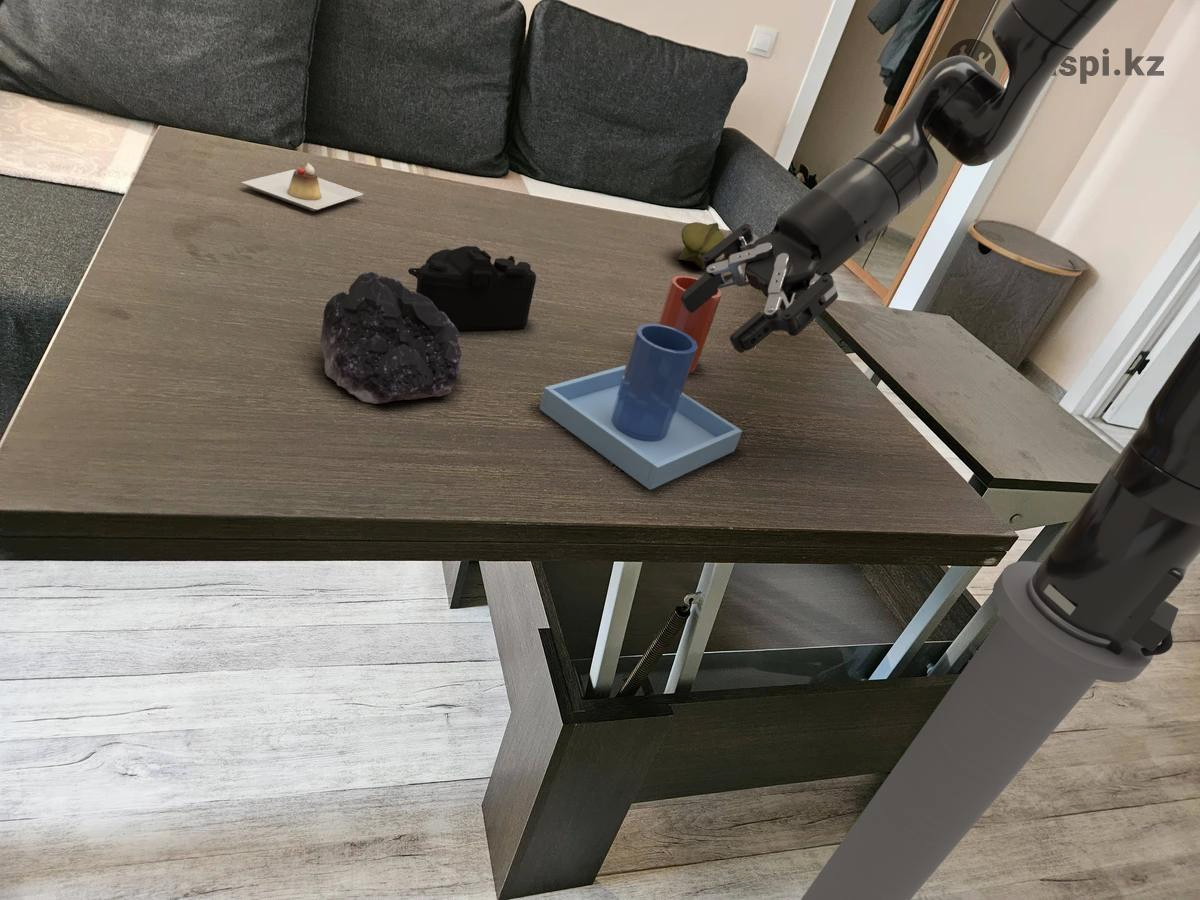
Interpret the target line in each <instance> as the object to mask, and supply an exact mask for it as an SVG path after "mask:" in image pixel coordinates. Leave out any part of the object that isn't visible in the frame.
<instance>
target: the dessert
mask: <svg viewBox="0 0 1200 900" xmlns="http://www.w3.org/2000/svg"><path fill="white" fill-rule="evenodd" d="M241 184H242V185H244V186H246V187H248V188H250V189H251V190H253V191H256V192H258V193H260V194H263V195H266V196H269V197H272V198H274V199H276V200H280V201H282V202H286V203H288V204H291V205H293V206H296V207H298V208H301V209H304V210H307V211H310V212H317V211H319V210H322V209H326V208H329V207H332V206H335V205H338V204H341V203H344V202H347V201H351V200H353V199H355V198H358V197H361V196H363V195H364V194H365V193H363V192H360V191H358V190H355V189H351V188H348V187H346V186H343V185H340V184H338V183H334V182H332V181H329V180H326V179H323V178H321V177H318V175H317V173H316V170H315V167H313V165H311V164H310V163H309V162H307V164H306V166H305V168H303V166H301V167H297V169H290V170H285V171H281V172H277V173H273V174H269V175H265V176H260V177H256V178H252V179H247V180H244V181H241Z"/></svg>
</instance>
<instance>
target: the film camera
mask: <svg viewBox="0 0 1200 900" xmlns="http://www.w3.org/2000/svg"><path fill="white" fill-rule="evenodd" d="M491 260H492V256H491V255H490V254H489V253H488V252H487V251H486V250H481V248H479V247H478V246H477V245H464V246H460V247H458V248H454V249H448V248H447V249H441V250H439V251H436V252H434V253H431V255H430V256H429V257H428V258H427V259H426V260H425V263H424V264H422V265H421V266H420V267H417V268H416V267H411V268H408V270H407V272H408V274H409V275H411V276H412V277H415V278H416V290H415V292H417V293H419V294H422V295H424V296H425V297H428V298H429V299H430V300H431V301H432V302H433V303H434V305H435V306H436V307H437V309H438V310H439V311H442V312H444V313H445V314H446V315H447V317H448V318H449V320H450V322H452V323H453V324H454V325H455V326H456V328H457V330H458V332H467V331H468V332H469V331H472V332H473V331H501V330H502V331H503V330H516V329H517V330H518V329H524V328H525V327H526V326H527V324H528V321H529V315H530V308H531V304H532V300H533V296H534V290H535V286H536V284H537V283H536V282H537V274H536V272H535V271H533V270H532V268H531V264H530V263H528V262H525V261H519V262H518V263H517V264H515V263H516V259H515V256H513V255H509V257H507V258H503V257H497V258H495V259H494V262H493V263H492V261H491Z"/></svg>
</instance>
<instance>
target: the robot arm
mask: <svg viewBox="0 0 1200 900" xmlns="http://www.w3.org/2000/svg"><path fill="white" fill-rule="evenodd" d="M1118 1H1119V0H1010V1H1009V2H1008V3H1007V5H1005V7H1004V8H1003V10H1002V11H1001V12H1000V13H999V15H998V16H997V18H996V19H995V20H994V22H993V25H992V28H991V36H992V39H993V42H994V44H995V46H996V48H997V49H998V51H999V52H1000V54H1001V56H1002V58H1003V60H1004V61H1005V63H1006V65H1007V68H1008V79H1007V82H1006V86H1003V84H1001V83H1000V82H999V80H997V79H996V78H995V77H994V76H993V75H992V74H991V73H989V72H988V71H987V70H986V68H984V67H983V66H982V65H981V64H980V63H978V62H977V60H975V59H974V58H972V57H970V56H967V55H960V54H959V55H953V56H950V57H947V58H945V59H942V60H941V61H939V62H938V63H937V64H935V65H934V66H933V67H932V68H931V69H930V70H929V71H928V72H927V73H926V75H925V76H924V77H923V79H922V80H921V81H920V82H919V85H918V86H917V87H916V89H915V91H914V92H913V94H912V95H911V96H910V98H909V100H908V101H907V103H906V104H905V105H904V107H903V108H902V109H901V111H900V112H899V113H898V115H897V116H895V118H894V120H893V121H892V122H891V123H890V124H889V125H888V127H887V128H885V130H884V131H883V132H882V133H881V134H880V135H879V136H878V137H877V138H876V139H874V140H873V141H872V142H871V143H870V144H868V145H866V147H865V148H863V150H861V151H859V153H858V154H856V155H855V156H854V157H853V158H852V159H850V160H849V161H848V162H846V163H845V164H844V165H842V166H840V167H839V168H837V169H835V170H834V171H833V172H831V173H830V174H828V175H827V176H826V177H825V178H823V180H821V181H820V182H819V183H817V184H816V185H815V186H814V187H813V188H811V189H810V190H809V191H808V192H807V193H805V194H804V195H803V196H802V197H800V199H798V200H797V201H796V202H795V203H794V204H792V205H791V206H790V207H789V208H787V209H786V210H785V211H783V213H781V215H779V216H778V218H777V220H776V222H775V225H774V227H773V229H772V231H771V232H769V233H767V234H765V235H763V236H760V237H759V236H758V235H757V234H755V233H754V231H753V229H752V227H751V224H749V223H743V224H742V225H740V226H739V227H738V228H736V229H735V230H734V231H732V232H731V233H730V234H729V235H727V236H726V237H724V240H722V241H721V242H720V243H718V244H717V245H716V246H714V247H713V248H712V249H711V250H709V251H708V252H707V253H705V254H704V255H703V256H702V261H703V263H704V265H705V268H704V269H705V273H704V274H703V275H702V276H701V277H699V278H698V280H697V281H696V282H694V283H693V284H692V285H691V286H690V287H688V288H687V289H686V290H685V291H684V293H683V295H682V296H681V301H682V303H683V305H684V307H685V308H686V309H687V310H688V311H689V312H691V313H693V312H694V311H696V310H697V309H698V308H699V307H700V306H702V305H703V304H704V303H705V302H706V301H708V300H709V299H710V298H711V297H712V296H714V295H715V294H716V293H717V292H718V289H719V290H720V289H724V288H727V287H731V286H738V287H746V286H749V285H750V287H752V288H754V289H755V290H758V291H761V292H762V294H763V295H764V296H765V297H766V298H767V299H766V302H765V306H764V309H763V313H762V312H760V311H758V312H757V313H755V314H754V315H753V316H752V317H750V318H749V319H748V320H747V321H746V322H745V323H744V324H742V325H741V326H740V327H739V328H738V329H736V330H735V331H734V332H733V333H732V334H730V336H729V340H730V343H731V345H732V347H733V349H734V350H735V351H737V352H738V353H739V354H743V353H744V352H747V351H750V350H752V349H753V348H755V347H756V346H757V345H758V344H759V343H761V342H762V341H763V340H764V339H765V338H766V337H768V336H769V335H771V333H773V332H778V331H782V332H787V334H788V335H789V336H790V337H796V336H798V335H799V334H800V333H802V331H804V329H806V328H807V327H808V326H809V325H810V324H811V323H812V322H813V321H814V320H816V319H817V317H819V316H820V315H821V314H822V313H823V312H824V311H826V309H827V308H829V307H830V306H831V305H832V304H833V303H834V302H835V301H836V300H837V299H838V297H839V294H838V289H837V287H836V283H835V281H834V278H833V276H832V274H833V273H834V272H835V271H836V270H837V269H838V268H840V267H841V266H842V265H844V264H845V263H846V262H847V261H848V260H849V259H851V258H852V257H853V256H854V255H855V254H857V252H859V251H860V250H862V249H863V248H864V247H865V246H866V245H868V244H869V243H870V242H871V241H872V240H873V239H875V238H876V237H877V236H878V235H879V234H880V233H881V232H883V230H885V228H886V227H887V226H888V225H889V224H890V223H891V221H893V219H895V218H896V217H897V216H898V215H899V214H901V213H902V212H903V211H904V210H905V209H906V208H908V207H909V206H910V205H911V204H912V203H914V202H915V201H916V200H918V199H919V198H920V197H921V196H922V195H923V194H924V193H926V192H927V191H928V190H929V189H930V188H931V187H932V186H933V185H934V183H935V182H936V181H937V178H938V176H939V172H940V165H939V162H938V160H939V159H938V157H937V155H936V152H935V151H934V148H933V146H932V145H931V143H930V141H929V140H928V138H927V136H926V135H925V132H924V130H925V131H926V132H928V134H929V135H931V136H932V138H933V139H934V140H936V141H937V142H938V143H939V144H940V145H941V146H942V147H943V148H944V149H945V150H946V151H947V153H949V154H950V155H951V156H952V157H953V158H954V159H955V160H956V161H958V162H959V163H961V164H962V165H964V166H966V167H977V166H982V165H985V164H989V163H990V162H993V161H994V160H995V159H997V158H998V157H999V156H1001V155H1002V154H1003V153H1004V152H1005V151H1006V150H1007V148H1008V147H1010V145H1011V143H1012V142H1013V141H1014V139H1015V138H1016V136H1017V135H1018V133H1019V131H1020V130H1021V128H1022V127H1023V125H1024V124H1025V123H1024V122H1025V121H1026V120H1027V117H1028V115H1029V114H1030V111H1031V110H1032V108H1033V107H1034V105H1035V103H1036V101H1037V99H1038V98H1039V96H1040V94H1041V93H1042V92H1043V90H1044V88H1045V87H1046V85H1047V83H1048V82H1049V81H1050V79H1051V77H1053V75H1054V73H1055V72H1056V71H1057V69H1058V68H1059V67H1060V65H1061V64H1062V63H1063V62H1064V61H1065V59H1066V58H1067V57H1068V56H1069V55H1070V54H1071V53H1072V51H1073V50H1074V49H1075V48H1076V47H1077V46H1078V45H1079V44H1080V43H1081V42H1082V41H1083V40H1084V39H1085V38H1086V36H1088V34H1089V33H1090V32H1091V31H1092V30H1093V29H1094V28H1095V27H1096V26H1097V25H1098V24H1099V22H1100V21H1101V20H1102V19H1104V18H1105V16H1106V15H1107V14H1108V13H1109V12H1110V11H1111V10H1112V8H1113V7H1114V6H1115V5H1116V4H1117V2H1118ZM722 255H723V257H722V258H721V259H719V261H717V259H718V258H720V257H721V256H722ZM744 264H745V265H744ZM742 265H744V270H743V268H742ZM728 272H730V273H729V274H726V273H728ZM724 273H725V275H723V274H724ZM803 291H804V292H803ZM799 292H802V294H801V295H799V296H798V297H797V298H796V299H795V297H796V294H797V293H799ZM1199 555H1200V332H1199V333H1198V334H1197V335H1196V337H1195V338H1194V339H1193V341H1192V342H1191V344H1190V345H1189V346H1188V348H1187V349H1186V351H1185V352H1184V354H1183V355H1182V357H1181V358H1180V360H1179V361H1178V363H1177V364H1176V366H1175V367H1174V369H1173V370H1172V372H1171V373H1170V375H1168V378H1167V379H1166V380H1165V381H1164V383H1163V385H1162V386H1161V388H1160V389H1159V391H1158V392H1157V394H1156V395H1155V396H1154V397H1153V399H1152V401H1151V402H1150V403H1149V406H1148V408H1147V410H1146V411H1145V413H1144V417H1143V419H1142V421H1141V424H1140V425H1139V427H1138V428H1137V429H1136V431H1135V432H1134V433H1133V435H1132V436H1131V438H1130V439H1129V441H1128V442H1127V443H1126V445H1125V446H1124V448H1123V449H1122V450H1121V452H1120V453H1119V455H1118V456H1117V458H1116V459H1115V460H1114V462H1113V463H1112V464H1111V466H1110V468H1108V471H1107V472H1106V473H1105V475H1104V476H1103V477H1102V478H1101V480H1100V481H1099V482H1098V484H1097V486H1096V487H1095V489H1094V490H1093V492H1092V493H1091V494H1090V496H1088V498H1087V500H1086V501H1085V502H1084V504H1083V506H1082V507H1080V509H1079V511H1078V512H1077V513H1076V515H1075V516H1074V518H1073V519H1072V521H1071V522H1070V523H1069V525H1068V526H1067V527H1066V529H1065V530H1064V532H1063V533H1062V535H1061V536H1060V537H1059V539H1058V540H1057V542H1055V545H1054V546H1053V547H1052V548H1051V550H1050V551H1049V553H1048V555H1047V556H1046V557H1045V558H1044V560H1043V561H1042V562H1041V563H1042V564H1041V565H1040V566H1039V568H1038V569H1037V571H1036V572H1035V573H1034V574H1033V575H1032V576H1031V578H1030V579H1029V581H1028V582H1027V585H1026V591H1027V594H1028V597H1029V598H1030V600H1031V602H1032V603H1033V605H1034V606H1035V607H1036V608H1037V610H1038V611H1039V612H1040V613H1041V614H1042V615H1043V616H1044V617H1046V618H1047V619H1048V620H1049V621H1050V622H1052V623H1053V624H1054V625H1055V626H1057V627H1058V628H1060V629H1061V630H1063V631H1064V632H1066V633H1068V634H1069V635H1071V636H1073V637H1075V638H1077V639H1079V640H1081V641H1084V642H1086V643H1089V644H1092V645H1095V646H1098V647H1103V648H1106V649H1108V650H1110V651H1111V652H1113V653H1114V654H1116V655H1119V654H1120V653H1121V652H1122V651H1123V650H1124V648H1125V647H1126V646H1127V645H1128V644H1129V642H1130V641H1131V640H1133V641H1135V642H1136V643H1138V644H1140V645H1141V646H1143V648H1141V652H1142V654H1143V655H1144V656H1152V655H1153V656H1160V655H1164V654H1165V653H1167V652H1168V651H1170V650H1171V649H1172V647H1173V644H1174V640H1173V639H1174V638H1173V634H1172V628H1173V626H1174V623H1175V620H1176V617H1177V615H1178V612H1179V610H1180V609H1179V607H1176V606H1175V605H1173V604H1171V603H1170V602H1168V601H1166V600H1167V599H1168V598H1169V596H1170V595H1172V593H1173V592H1174V591H1175V589H1176V588H1177V587H1178V586H1179V584H1181V583H1182V582H1183V580H1184V578H1185V575H1186V573H1187V570H1188V569H1189V567H1190V566H1191V565H1192V564H1193V562H1195V560H1197V558H1198V556H1199Z"/></svg>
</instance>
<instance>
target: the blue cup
mask: <svg viewBox="0 0 1200 900" xmlns="http://www.w3.org/2000/svg"><path fill="white" fill-rule="evenodd" d="M697 348H698V347H697V344H696V341H695V340H694V339H693V338H691V337H690V336H689V335H687V334H686V333H684V332H682V331H680V330H678V329H675V328H672V327H669V326H665V325H660V324H658V323H645V324H641V325H639V326H638V327H637V328H636V330H635V333H634V337H633V339H632V344H631V347H630V350H629V354H628V357H627V360H626V364H625V365H626V367H625V370H624V374H623V377H622V381H621V384H620V388H619V391H618V394H617V398H616V401H615V405H614V408H613V413H612V417H611V420H612V423H613V425H614V426H615V427H616V428H617V429H618V430H619V431H620V432H622V433H623V434H625V435H627V436H629V437H631V438H634V439H638V440H642V441H659V440H662V439H664V438H665V437H666V436H667V434H668V431H669V429H670V427H671V424H672V421H673V418H674V415H675V412H676V409H677V406H678V403H679V400H680V397H681V394H682V393H684V392H683V391H684V388H685V385H686V382H687V379H688V378H689V377H688V376H689V374H690V373H689V371H690V368H691V365H692V362H693V359H694V357H695V354H696V351H697Z"/></svg>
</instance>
